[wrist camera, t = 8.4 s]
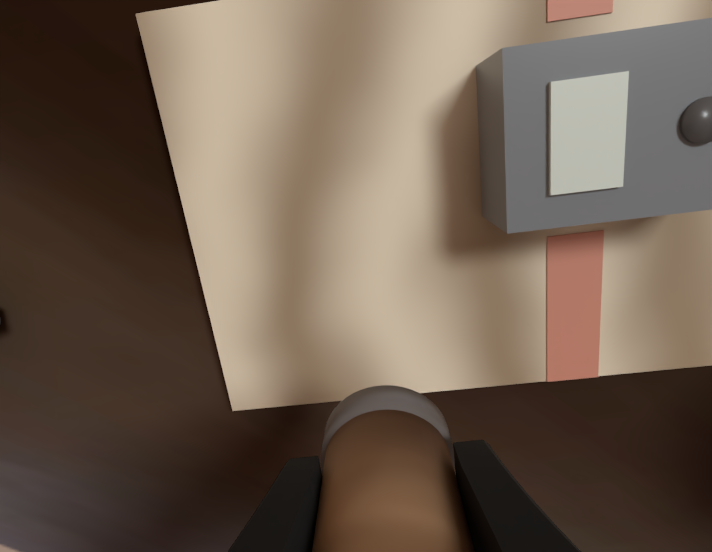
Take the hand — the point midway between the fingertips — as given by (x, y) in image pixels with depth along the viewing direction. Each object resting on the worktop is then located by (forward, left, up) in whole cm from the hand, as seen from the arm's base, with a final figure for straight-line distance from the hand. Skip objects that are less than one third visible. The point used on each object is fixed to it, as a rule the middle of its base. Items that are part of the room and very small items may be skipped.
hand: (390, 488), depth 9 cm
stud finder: (0, -10, -9) cm, 13 cm away
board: (0, -7, -10) cm, 12 cm away
